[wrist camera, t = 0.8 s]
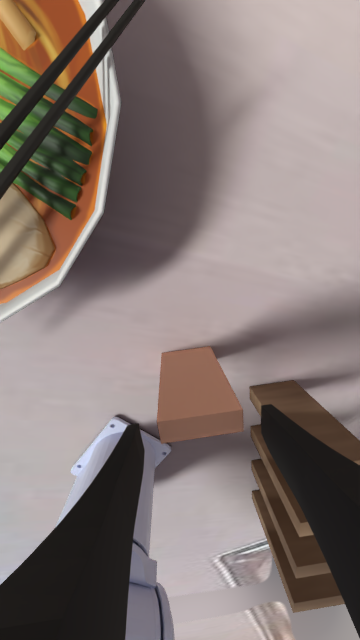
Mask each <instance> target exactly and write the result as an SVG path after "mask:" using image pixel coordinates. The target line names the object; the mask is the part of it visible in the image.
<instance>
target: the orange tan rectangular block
mask: <svg viewBox="0 0 360 640" xmlns="http://www.w3.org/2000/svg"><path fill="white" fill-rule="evenodd" d="M157 426H158V431H159V436H160V441H161V444H163V443H170V442H176V441H183V440H190V439H196V438H203V437H210V436H216V435H223V434H230V433H236V432H243V431H244V427H243V409H242V407H241V405H240V403H239V401H238V399H237V397H236V395H235V393H234V391H233V390H232V388H231V386H230V384H229V382H228V380H227V378H226V376H225V374H224V372H223V370H222V368H221V366H220V364H219V362H218V361H217V359H216V357H215V355H214V353H213V351H212V349H211V347H210V346H208V347H201V348H194V349H187V350H180V351H173V352H165V353H162V357H161V371H160V385H159V399H158V413H157Z"/></svg>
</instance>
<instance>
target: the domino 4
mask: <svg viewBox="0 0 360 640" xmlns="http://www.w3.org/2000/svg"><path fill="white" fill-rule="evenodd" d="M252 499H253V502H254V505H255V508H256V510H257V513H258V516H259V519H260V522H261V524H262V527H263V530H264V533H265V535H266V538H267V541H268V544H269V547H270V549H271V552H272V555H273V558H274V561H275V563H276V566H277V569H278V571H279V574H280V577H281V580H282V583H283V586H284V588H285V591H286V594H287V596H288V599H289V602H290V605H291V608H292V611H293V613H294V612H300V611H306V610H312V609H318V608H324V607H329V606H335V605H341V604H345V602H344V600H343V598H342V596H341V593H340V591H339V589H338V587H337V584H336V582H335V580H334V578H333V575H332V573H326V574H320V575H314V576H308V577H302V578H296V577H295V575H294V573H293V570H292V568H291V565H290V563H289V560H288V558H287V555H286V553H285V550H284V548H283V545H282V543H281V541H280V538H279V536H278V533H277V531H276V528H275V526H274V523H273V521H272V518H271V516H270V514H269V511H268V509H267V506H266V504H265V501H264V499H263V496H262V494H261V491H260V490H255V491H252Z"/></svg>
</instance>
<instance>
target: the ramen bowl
mask: <svg viewBox="0 0 360 640" xmlns="http://www.w3.org/2000/svg"><path fill="white" fill-rule="evenodd" d="M118 1H119V0H105V1H103V0H0V323H1V322H2V321H4V320H6V319H7V318H9V317H10V316H12V315H14V314H15V313H17V312H19V311H20V310H22V309H23V308H25V307H27V306H28V305H30V304H32V303H33V302H35V301H36V300H38V299H40V298H41V297H43V296H45V295H46V294H48V293H49V292H51V291H53V290H54V289H56V288H58V287H59V286H60V285H61V283H62V282H63V280H64V278H65V277H66V275H67V273H68V272H69V270H70V268H71V267H72V265H73V263H74V262H75V260H76V258H77V257H78V255H79V253H80V252H81V250H82V248H83V247H84V245H85V243H86V242H87V240H88V238H89V237H90V235H91V233H92V232H93V230H94V228H95V227H96V225H97V223H98V222H99V220H100V218H101V217H102V215H103V213H104V209H105V203H106V196H107V190H108V184H109V177H110V171H111V165H112V158H113V152H114V146H115V139H116V133H117V127H118V120H119V114H120V108H121V98H120V92H119V86H118V81H117V75H116V69H115V64H114V58H113V52H112V46H113V44H114V43H115V41H116V40H117V39H118V37H119V36H120V35H121V33H122V32H123V30H124V29H125V28H126V26H127V25H128V24H129V22H130V21H131V19H132V18H133V17H134V15H135V14H136V13H137V11H138V10H139V8H140V7H141V6H142V4H143V3H144V2H145V0H134V1H133V2H132V4H131V5H130V6H129V8H128V9H127V10H126V11H125V13H124V14H123V15H122V17H121V18H120V19H119V20H118V22H117V23H116V24H115V26H114V27H113V28H112V29H111V31H110V32H109V29H108V24H107V18H106V16H107V15H108V14H109V12H110V11H111V10H112V9H113V7H114V6H115V5H116V3H117V2H118Z"/></svg>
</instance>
